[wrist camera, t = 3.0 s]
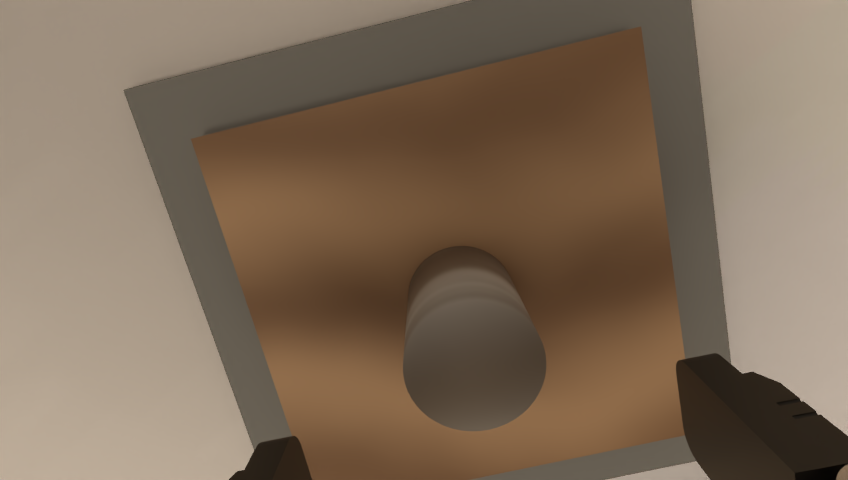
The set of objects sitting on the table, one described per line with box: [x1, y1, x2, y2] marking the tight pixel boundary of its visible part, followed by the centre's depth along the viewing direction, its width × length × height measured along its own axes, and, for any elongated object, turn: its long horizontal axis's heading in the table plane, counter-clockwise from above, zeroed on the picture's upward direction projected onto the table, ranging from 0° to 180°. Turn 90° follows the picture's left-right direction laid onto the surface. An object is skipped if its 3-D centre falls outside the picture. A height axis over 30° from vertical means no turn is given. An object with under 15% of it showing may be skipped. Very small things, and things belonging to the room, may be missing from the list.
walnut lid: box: [191, 26, 685, 480], centre depth 16 cm, size 14×14×6 cm
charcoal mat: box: [124, 0, 731, 480], centre depth 19 cm, size 18×18×1 cm
